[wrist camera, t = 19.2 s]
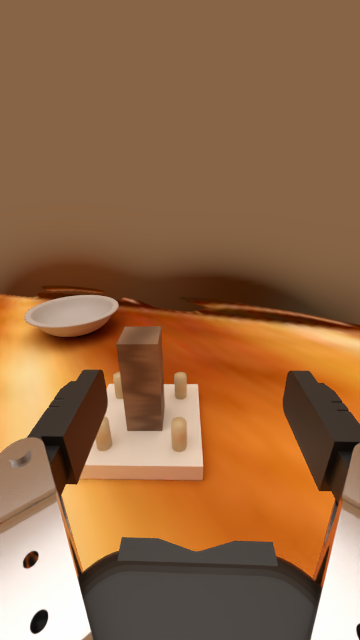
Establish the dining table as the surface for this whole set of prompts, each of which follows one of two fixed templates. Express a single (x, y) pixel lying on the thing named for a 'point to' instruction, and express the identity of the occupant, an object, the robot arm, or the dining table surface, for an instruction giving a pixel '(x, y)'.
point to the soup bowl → (72, 315)
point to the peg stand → (149, 439)
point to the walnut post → (142, 377)
